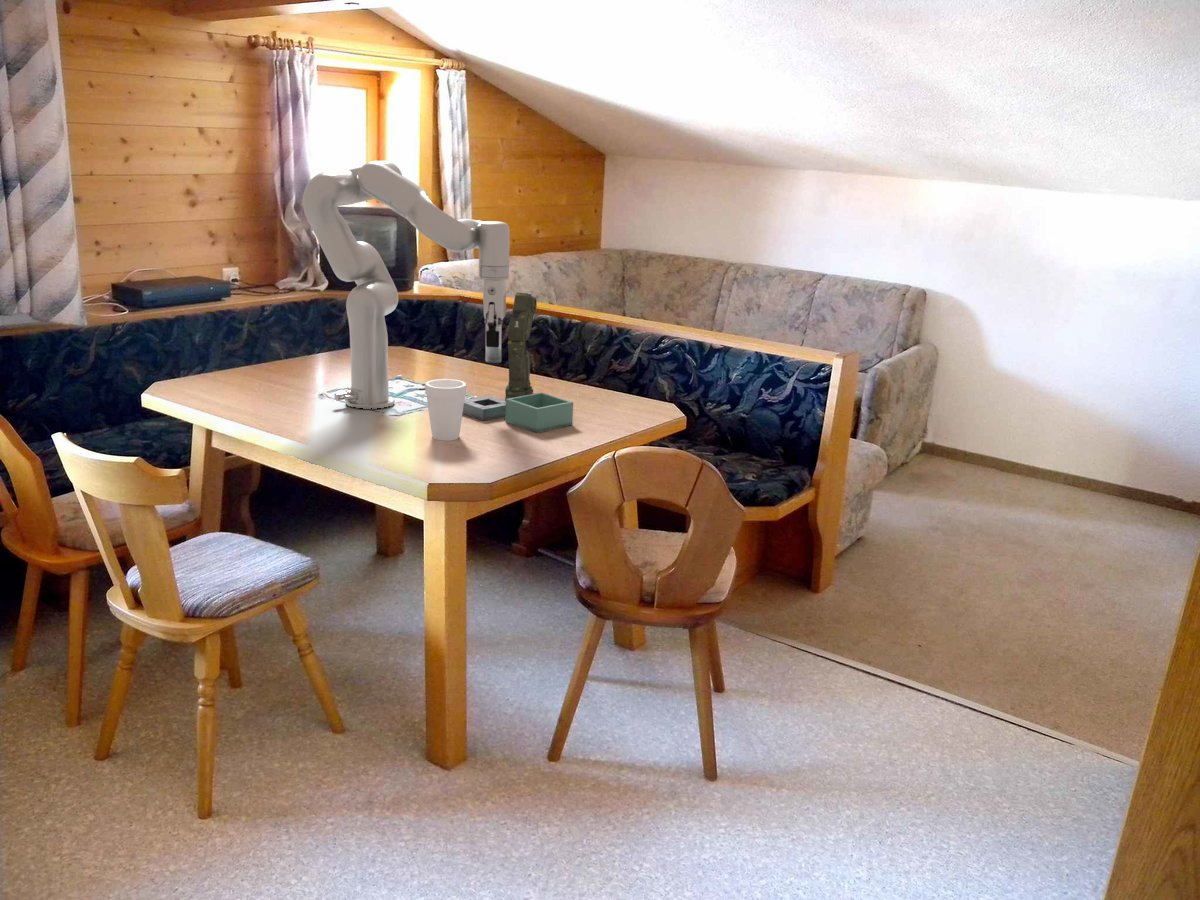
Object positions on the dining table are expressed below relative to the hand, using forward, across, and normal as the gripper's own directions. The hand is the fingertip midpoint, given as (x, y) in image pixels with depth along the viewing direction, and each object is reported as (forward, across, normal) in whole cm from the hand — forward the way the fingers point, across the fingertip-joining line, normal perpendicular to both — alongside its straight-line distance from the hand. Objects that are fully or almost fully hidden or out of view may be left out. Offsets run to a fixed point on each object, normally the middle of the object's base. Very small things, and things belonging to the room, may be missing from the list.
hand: (493, 344), depth 255 cm
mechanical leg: (+19, +19, -5) cm, 27 cm away
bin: (+19, -6, -12) cm, 23 cm away
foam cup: (+19, -22, +9) cm, 30 cm away
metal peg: (+4, 0, 0) cm, 4 cm away
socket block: (+18, +1, +2) cm, 19 cm away
